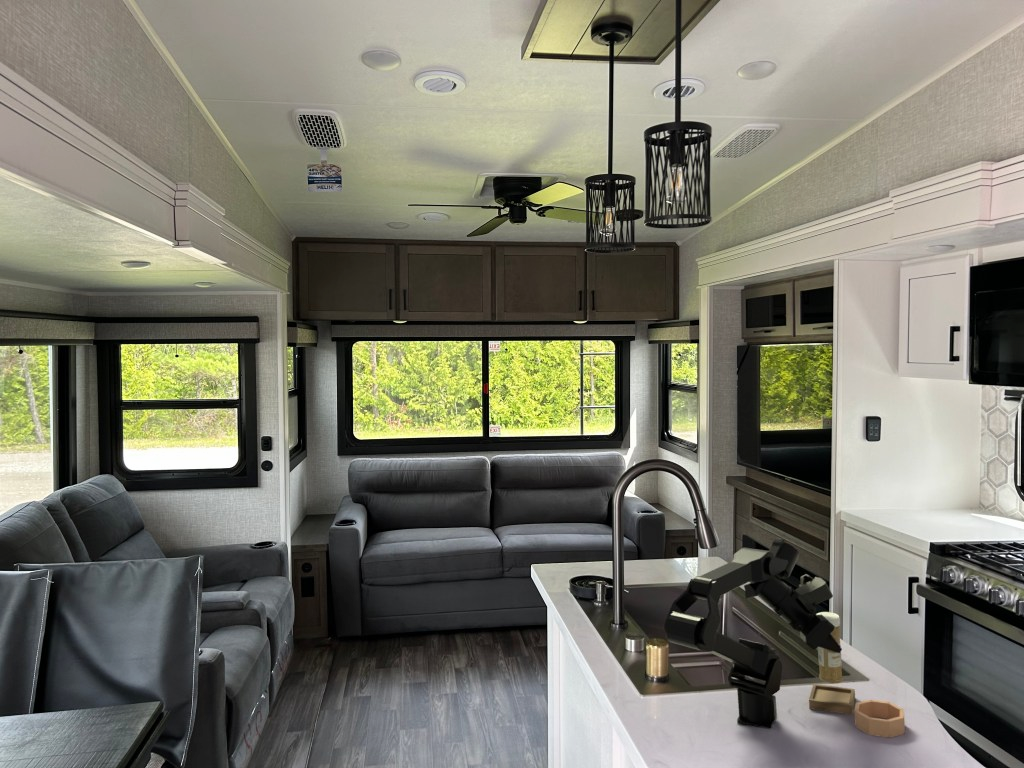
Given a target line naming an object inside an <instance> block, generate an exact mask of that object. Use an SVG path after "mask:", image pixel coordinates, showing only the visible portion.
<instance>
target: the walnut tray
mask: <svg viewBox="0 0 1024 768" xmlns="http://www.w3.org/2000/svg"><path fill="white" fill-rule="evenodd" d="M812 684H813V685H812V688H811V691H810V695H809V699H808V705H809V710H811V709H812V710H817V711H824V712H831V713H839V714H844V715H851V716H852V715H853V714H854V709H855V703H856V702H855V700H856V690H855V688H851V687H850V688H848V687H841V686H832V685H827V684H826V685H825V684H817V683H812Z"/></svg>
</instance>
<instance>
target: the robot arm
mask: <svg viewBox="0 0 1024 768" xmlns="http://www.w3.org/2000/svg"><path fill="white" fill-rule="evenodd" d="M732 557H733V558H732V561H730V562H727V563H725V564H723V565H721V566H719V567H717V568H714V569H712V570H711V571H708V572H706V573H704V574H702V575H699V576H697V575H696V576H693V577H691V578H690V580H689V582H688V585H687V587H686V589H685V591H683V592H682V593H681V594H680V595H679V596H678V597H677V598H676V599H675V600H674V601H673V602H672V604H671V607H670V609H669V611H668V614H667V617H666V619H665V622H664V627H663V628H664V632H665V638H666V640H667V641H668V642H669V643H671V644H676V645H678V646H679V645H680V646H682V647H686V648H690V649H692V650H693V649H694V650H697V651H701V652H708V653H710V654H711V655H712V654H713V655H714V656H717V657H719V658H721V659H723V660H726V661H728V662H730V663H732V665H731V668H730V672H729V674H728V677H727V681H728V683H729V687H731V688H735V689H736V690H737V703H738V704H737V705H738V717H737V719H736V723H737V724H740V725H741V724H742V725H747V726H754V727H760V728H764V729H765V728H767V729H771V728H772V727H773V723H774V722H775V721H776V718H777V716H778V713H777V711H778V710H777V696H776V695H775V694H776V693H778V692H780V690H781V684H782V683H781V681H782V674H783V664H782V661H781V660H780V659H781V658H780V656H779V654H778V653H777V649H776V648H772V647H770V646H768V645H767V644H765V643H761V642H755V641H753V640H748V639H743V638H739V640H738V641H737V640H735V639H733V638H731V637H729V636H726V635H725V634H723V633H721V632H718V628H719V626H720V623H721V617H720V610H719V602H720V599H721V597H722V596H724V595H726V594H728V593H729V592H732V591H733V590H736V589H738V588H739V587H741V586H743V588H744V596H745V597H744V598H745V599H746V600H749V599H752V598H754V597H755V598H756V597H758V598H759V599H761V601H763V602H764V603H765V604H766V605H767V606H768V607H770V609H772V610H773V611H774V612H775V614H776V615H778V617H780V618H782V619H783V620H784V621H785V622H786V623H787V624H788V625H789V626H790V627H791V628H792V629H793V630H795V631H796V632H799V633H800V634H799V635H800V636H799V638H800V639H801V640H802V641H803V642H804V643H805V644H806V645H807V646H808V647H809V648H810V649H811V650H812V651H815V650H816V649H818V647H821V648H824V649H827V650H830V651H833V652H836V653H840V652H841V653H842V650H843V648H842V646H841V647H840V646H839V644H838V643H837V642H836V640H835V639H834V638H833V636H832V635H831V634H830V633H831V632H832V631H833V630H834V628H835V626H834V625H833V624H832V623H831V622H829V621H828V620H827V619H826V618H825V617H824V616H823V615H816V614H817V608H816V607H815V606H816V605H818V604H821V603H822V602H824V601H826V600H827V601H828V600H830V599H832V598H833V597H834V596H833V593H832V590H831V589H830V587H829V586H828V584H827V582H826V580H824V579H823V578H821V577H817V576H815V577H814V578H813V577H811V576H810V575H809V574H807V573H805V574H804V575H803V574H802V575H801V576H800V584H798V587H797V588H796V589H794V588H793V587H792V586H791V585H790V586H789V585H788V584H787V583H785V582H784V581H783V580H788V579H789V578H790V576H791V574H792V571H793V569H794V567H795V565H796V563H797V561H798V559H799V557H800V552H799V550H798V549H796V548H795V547H794V546H793V545H791V544H790V543H787V542H786V541H785V539H784V538H779V537H778V538H777V537H774V539H773V541H772V544H771V546H770V548H769V550H766V549H765V550H764V549H757V548H750V547H742V548H740V549H739V550H737V552H735V553H734V554H733V555H732ZM698 599H699V600H703V601H707V606H708V613H707V616H706V617H704V616H700V615H695V614H691V613H687V612H686V611H687V610H689V609H690V608H691V607H692V606H693V605H694V604H695V603H696V602H697V600H698ZM753 678H754V679H753ZM756 679H757V680H756ZM760 680H761V681H760Z"/></svg>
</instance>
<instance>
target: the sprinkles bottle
mask: <svg viewBox="0 0 1024 768" xmlns="http://www.w3.org/2000/svg"><path fill="white" fill-rule="evenodd" d="M816 615H823V616H824V617H825V618H826V619H827V620H828V621H829V622H831V623H832V624H833V625H834V626H835V628H834V630H833V631H832V632H831V633H830V634H831V635H832V636H833V638H834V639H835V640H836V642H837V643H838V644H839V646H840V647H841V648H842V646H841V638H840V637H841V635H840V625H841V619H840V615H839V614H838V613H835V612H831V611H830V612H829V611H821V612H818V613H817V612H816ZM817 654H818V655H817V657H818V660H817V661H818V665H819V666H818V668H819V675H818V678H819V679H820V681H821V682H823V683H826V684H827V683H828V684H840V683H841V682H843V673H842V663H843V662H842V651H841V652H840V653H836V652H833V651H830V650H827V649H824V648H821V647H817Z"/></svg>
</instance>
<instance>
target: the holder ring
mask: <svg viewBox="0 0 1024 768" xmlns="http://www.w3.org/2000/svg"><path fill="white" fill-rule="evenodd" d="M905 723H906V722H905V710H904V709H903V708H901V707H900V706H898V705H896V704H894V703H892V702H890V701H883V700H875V699H867V700H862V701H858V702H855V703H854V724H855V727H856V728H858V729H860V730H861V731H863V733H865V734H868V735H869V736H870V735H871V736H877V737H884V738H893V737H894V738H895V737H897V736H901V735H905V734H906V724H905Z"/></svg>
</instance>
